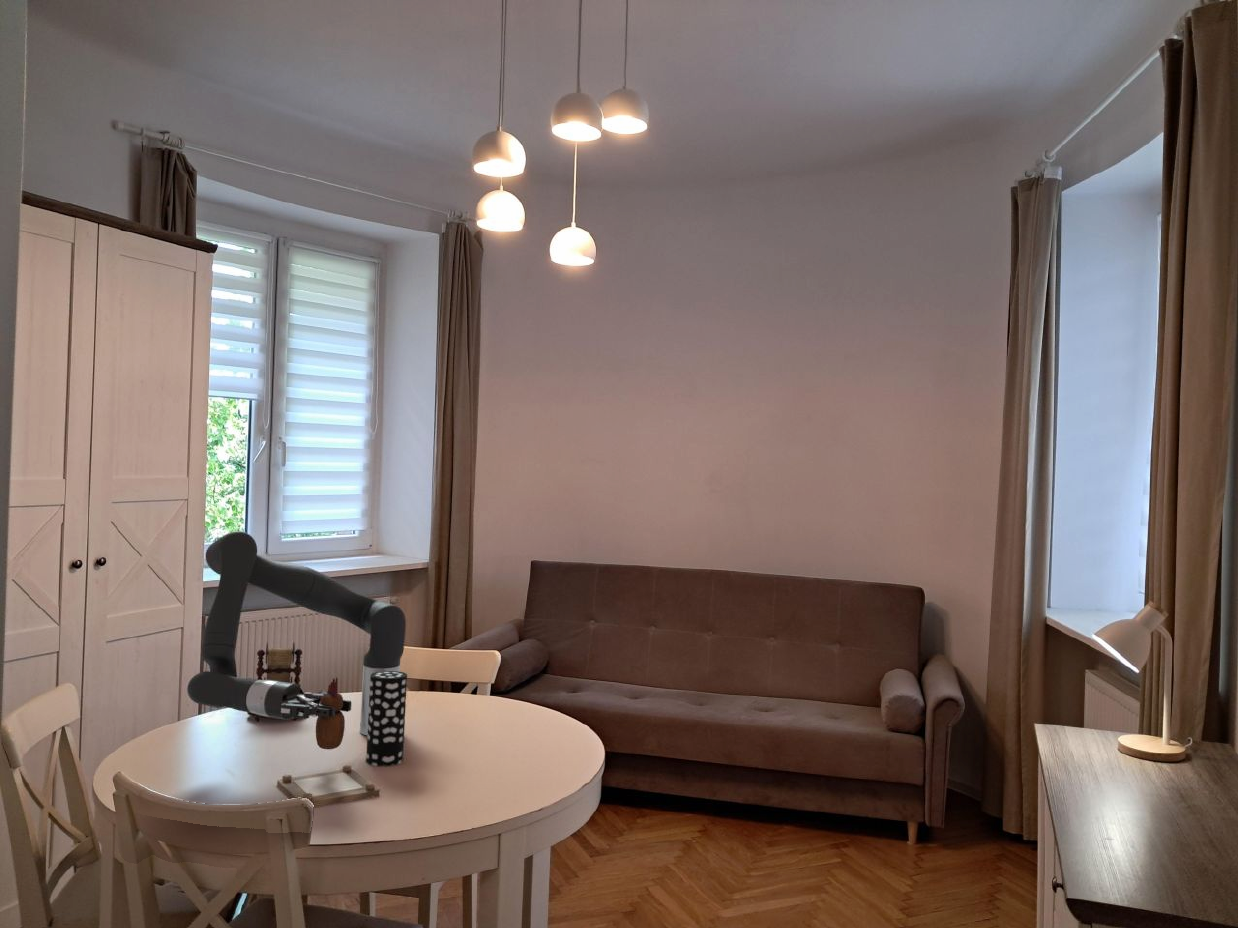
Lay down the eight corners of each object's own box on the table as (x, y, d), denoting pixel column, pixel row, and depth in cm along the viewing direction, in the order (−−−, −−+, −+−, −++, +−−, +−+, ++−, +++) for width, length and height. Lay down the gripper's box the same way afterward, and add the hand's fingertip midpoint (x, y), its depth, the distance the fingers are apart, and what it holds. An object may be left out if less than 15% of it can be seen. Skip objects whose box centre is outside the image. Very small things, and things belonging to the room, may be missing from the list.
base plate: (350, 773, 201) (351, 763, 201) (379, 795, 188) (379, 784, 188) (277, 785, 191) (277, 775, 191) (301, 809, 178) (302, 798, 178)
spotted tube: (409, 758, 213) (414, 673, 214) (389, 768, 205) (394, 680, 206) (379, 753, 216) (383, 669, 216) (358, 762, 208) (363, 675, 208)
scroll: (304, 708, 253) (308, 637, 253) (306, 722, 239) (310, 646, 240) (248, 710, 248) (251, 637, 248) (245, 725, 234) (250, 648, 234)
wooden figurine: (343, 751, 187) (348, 679, 187) (314, 752, 185) (318, 679, 186) (342, 741, 194) (347, 671, 194) (314, 742, 192) (319, 671, 192)
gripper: (252, 688, 187) (322, 698, 182) (297, 675, 201) (363, 684, 196) (250, 724, 187) (320, 735, 182) (295, 708, 201) (361, 719, 196)
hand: (342, 709), depth 189 cm, fingers closed on wooden figurine, 5 cm apart
